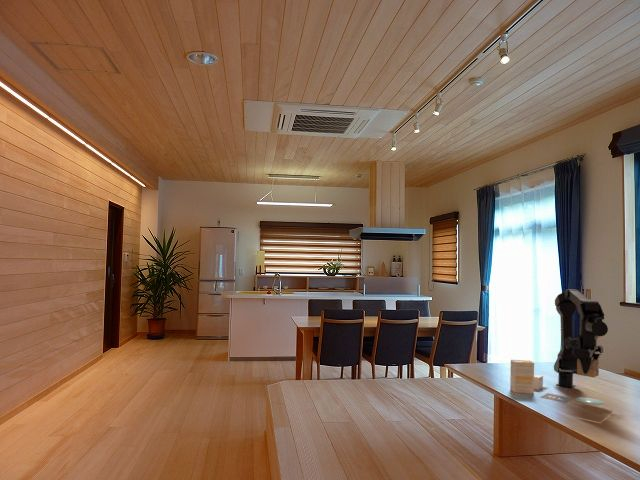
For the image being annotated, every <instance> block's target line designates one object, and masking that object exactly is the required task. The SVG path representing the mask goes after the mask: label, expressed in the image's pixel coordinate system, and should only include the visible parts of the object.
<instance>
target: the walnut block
mask: <svg viewBox="0 0 640 480" xmlns="http://www.w3.org/2000/svg"><path fill="white" fill-rule="evenodd" d="M599 363H600V360H599V359H598V360H595V359H593V360H592V363H591V365H590V367H589V370H588V372H587V374H584V373H583V369H582V366H581V362H580V360H579V359H577V374H576V375H578V376H581V377H582V376H583V377H588V378H596V377H598V376H599V372H600V371H599V369H600V368H599V367H600V365H599Z"/></svg>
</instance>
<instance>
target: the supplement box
mask: <svg viewBox="0 0 640 480" xmlns="http://www.w3.org/2000/svg"><path fill="white" fill-rule="evenodd" d="M534 374H535V362H534V361H531V360H525V359H510V376H509V377H510V382H509V384H510V387H509V389H510V391H511V392H512V393H514V394H528V395H534V393H535V392H534V391H535V390H534Z"/></svg>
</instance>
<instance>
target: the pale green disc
mask: <svg viewBox="0 0 640 480" xmlns="http://www.w3.org/2000/svg"><path fill="white" fill-rule="evenodd" d="M575 400H577V401H578V402H581V403H584V404H588V405H593V406H594V405H595V406H603V405H604V406H605V404H606V402H605V401H603V400H600V399H597V398H591V397H576V398H575Z"/></svg>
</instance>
